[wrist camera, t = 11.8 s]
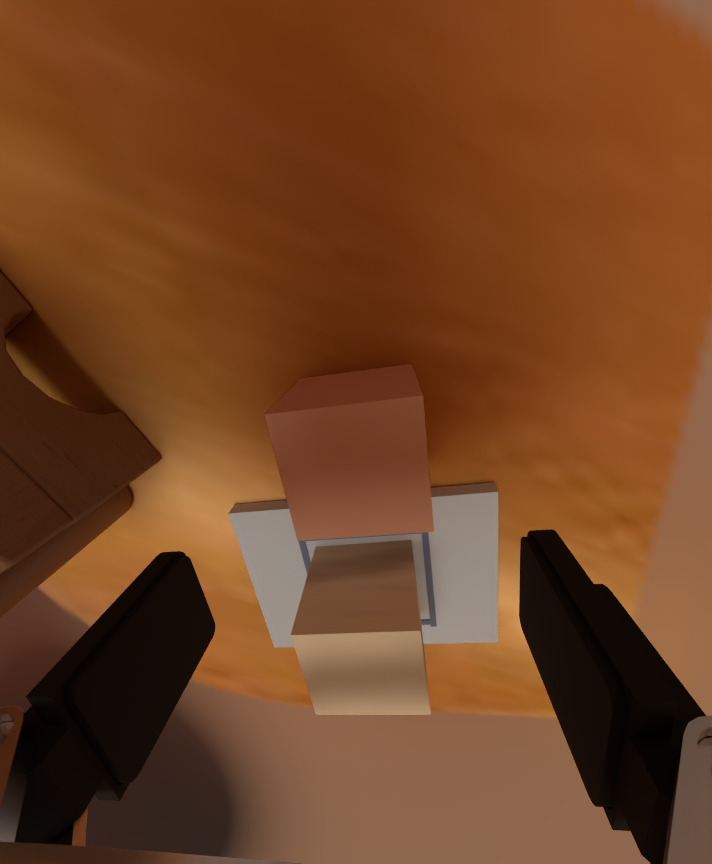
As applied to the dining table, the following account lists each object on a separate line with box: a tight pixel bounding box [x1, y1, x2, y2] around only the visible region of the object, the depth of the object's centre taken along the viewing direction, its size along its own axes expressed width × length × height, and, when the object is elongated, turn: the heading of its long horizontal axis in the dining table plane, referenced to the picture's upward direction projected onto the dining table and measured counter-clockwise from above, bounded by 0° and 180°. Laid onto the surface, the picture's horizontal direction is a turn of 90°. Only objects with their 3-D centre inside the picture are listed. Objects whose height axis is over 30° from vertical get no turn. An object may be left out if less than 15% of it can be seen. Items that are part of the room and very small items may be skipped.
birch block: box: [291, 540, 431, 715], centre depth 19 cm, size 6×6×6 cm
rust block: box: [264, 364, 434, 541], centre depth 16 cm, size 6×6×6 cm
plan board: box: [228, 483, 498, 648], centre depth 23 cm, size 12×16×1 cm
